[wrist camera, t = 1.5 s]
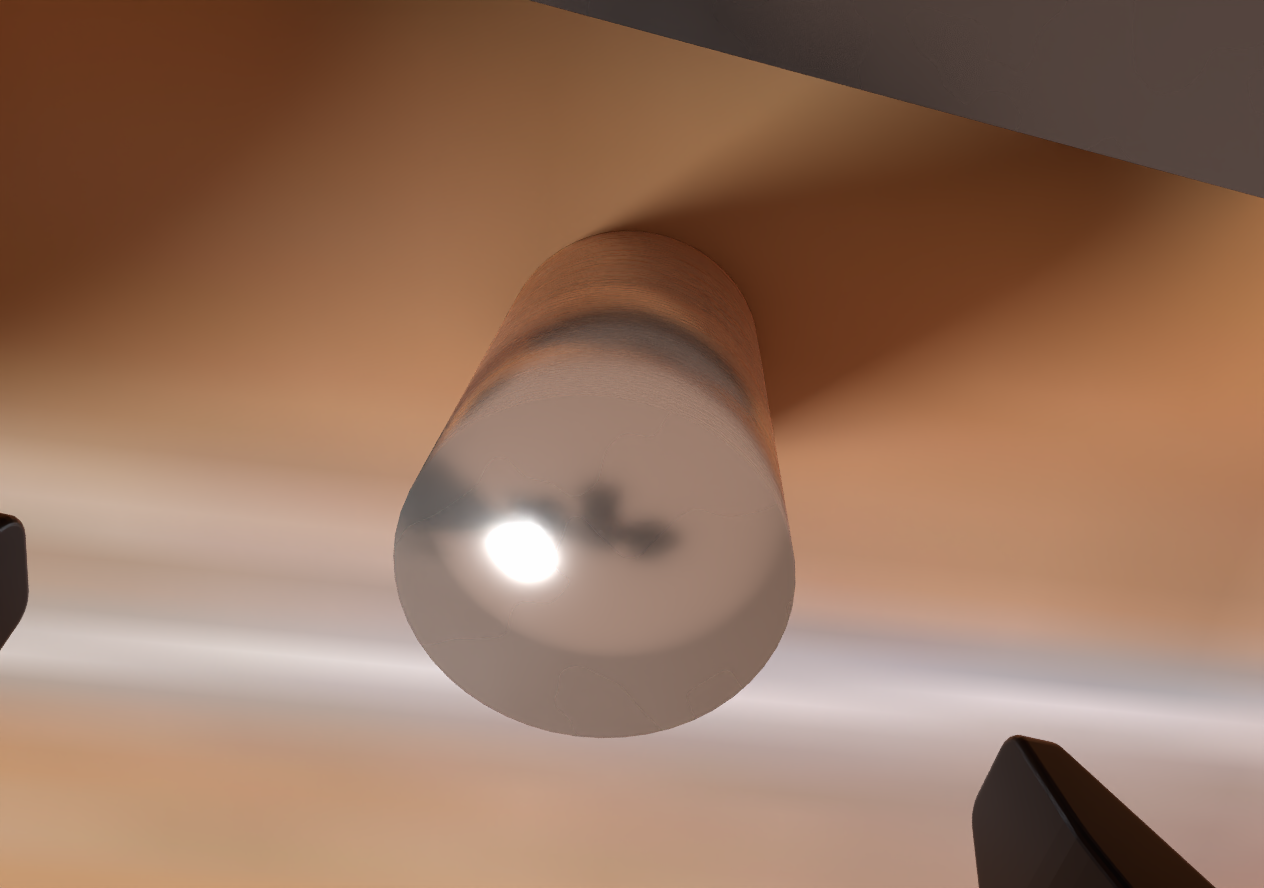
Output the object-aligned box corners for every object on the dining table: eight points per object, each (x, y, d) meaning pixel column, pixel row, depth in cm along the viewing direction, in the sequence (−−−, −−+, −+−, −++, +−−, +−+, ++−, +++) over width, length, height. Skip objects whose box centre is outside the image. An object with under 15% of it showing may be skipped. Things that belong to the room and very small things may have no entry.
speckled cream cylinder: (718, 495, 21) (729, 773, 14) (484, 437, 21) (369, 689, 13) (791, 268, 19) (852, 455, 11) (531, 200, 18) (425, 348, 11)
